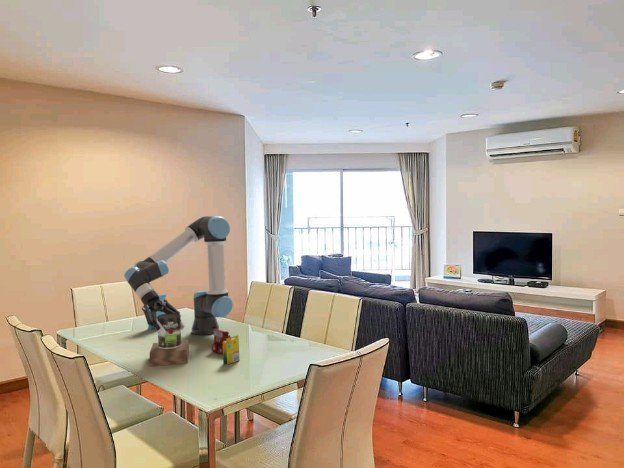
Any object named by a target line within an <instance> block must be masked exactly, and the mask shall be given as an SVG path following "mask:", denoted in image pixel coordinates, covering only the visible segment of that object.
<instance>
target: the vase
mask: <svg viewBox="0 0 624 468" xmlns="http://www.w3.org/2000/svg"><path fill="white" fill-rule="evenodd" d="M156 293H157V294H158V296H159V300H161V301H164V300H166V296H167V293H163V294H159V292H156ZM162 309H163V307H162ZM149 311H150V309H149ZM162 314H166V313H164V312H161V311H157V312H156V318H157V316H159V315H162ZM157 322H158V319H157ZM151 329H155V332H158V330H156V328H155V327H154V326H151V325H148V326H147V330H151Z"/></svg>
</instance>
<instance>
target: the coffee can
mask: <svg viewBox="0 0 624 468" xmlns="http://www.w3.org/2000/svg"><path fill="white" fill-rule="evenodd" d="M181 316H182V314H181V313H180V314H176V313H169V314H162V315H159V316H157V319H158V321H159V322H160V324H161V325H162V327H163V328H164V329H165V331H166V332H167V333H166V334H165V335H164V336H163V337H162V335H161V334H160V333H159V331H157V341H158V342H157V343H158V348H160V349H174V348H178V347H180V346H181V341H182V330H181V322H182V319H181Z"/></svg>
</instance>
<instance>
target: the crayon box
mask: <svg viewBox="0 0 624 468" xmlns="http://www.w3.org/2000/svg"><path fill="white" fill-rule="evenodd" d="M230 339H231V340H230ZM222 361H223V364H224V365H230V364H232V363H236V362H238V361H240V341H239V334H237V335H234V336H230V338H227V339H226V341H224V342H223V355H222Z"/></svg>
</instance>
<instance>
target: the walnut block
mask: <svg viewBox="0 0 624 468" xmlns="http://www.w3.org/2000/svg"><path fill="white" fill-rule="evenodd" d="M189 347H190V346H189V339H186V340H185V339H184V340H181V346H180V347H178V348H174V349H160V348H158V342H153V343H152V345H151V348H150V351H149V367H159V366H160V367H161V366H169V365H179V364H188V363H189V353H190V348H189Z"/></svg>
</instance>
